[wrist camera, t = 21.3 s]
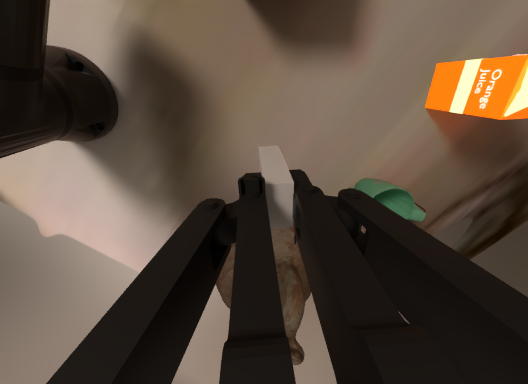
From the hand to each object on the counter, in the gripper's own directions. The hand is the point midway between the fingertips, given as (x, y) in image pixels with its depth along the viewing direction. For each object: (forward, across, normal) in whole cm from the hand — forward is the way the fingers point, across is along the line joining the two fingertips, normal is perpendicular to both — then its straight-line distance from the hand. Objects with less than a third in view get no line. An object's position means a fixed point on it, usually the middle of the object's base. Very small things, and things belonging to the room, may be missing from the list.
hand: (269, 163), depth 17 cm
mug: (+27, +26, -18) cm, 42 cm away
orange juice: (+27, +37, +3) cm, 46 cm away
